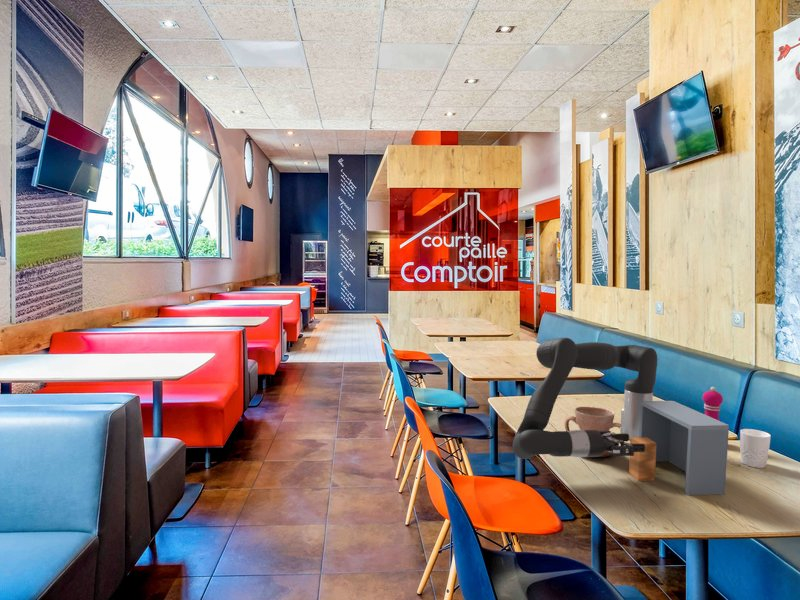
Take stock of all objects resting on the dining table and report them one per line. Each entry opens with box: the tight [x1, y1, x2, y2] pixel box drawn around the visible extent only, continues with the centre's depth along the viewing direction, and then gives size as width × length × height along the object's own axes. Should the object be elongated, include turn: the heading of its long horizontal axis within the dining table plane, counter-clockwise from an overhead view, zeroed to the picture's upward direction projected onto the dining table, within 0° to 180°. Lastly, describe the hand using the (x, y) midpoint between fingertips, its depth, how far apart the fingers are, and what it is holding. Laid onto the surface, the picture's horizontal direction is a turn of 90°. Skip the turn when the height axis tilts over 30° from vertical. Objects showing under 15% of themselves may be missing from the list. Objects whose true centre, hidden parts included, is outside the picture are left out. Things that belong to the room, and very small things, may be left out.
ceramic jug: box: [563, 406, 622, 458], centre depth 169 cm, size 18×14×14 cm
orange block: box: [628, 437, 657, 482], centre depth 150 cm, size 5×5×11 cm
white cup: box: [739, 428, 772, 469], centre depth 161 cm, size 8×8×10 cm
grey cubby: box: [639, 400, 730, 496], centre depth 151 cm, size 11×24×19 cm, turn 5°
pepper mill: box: [702, 386, 724, 421], centre depth 179 cm, size 7×7×20 cm
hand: (636, 442), depth 149 cm, fingers open, 8 cm apart
